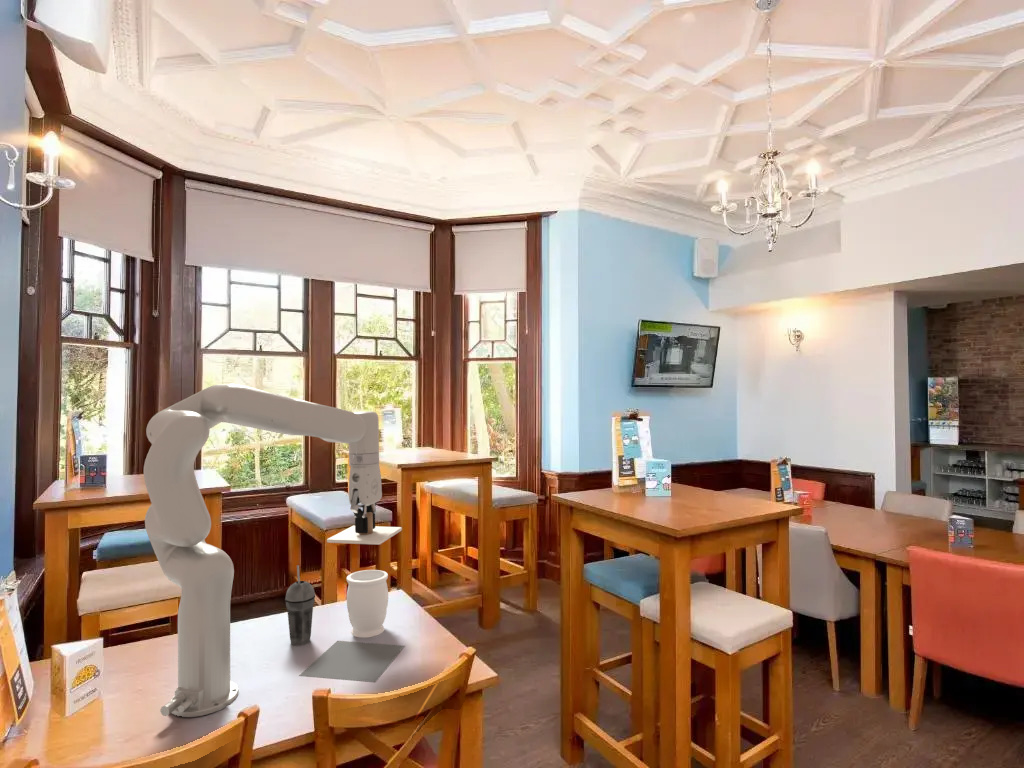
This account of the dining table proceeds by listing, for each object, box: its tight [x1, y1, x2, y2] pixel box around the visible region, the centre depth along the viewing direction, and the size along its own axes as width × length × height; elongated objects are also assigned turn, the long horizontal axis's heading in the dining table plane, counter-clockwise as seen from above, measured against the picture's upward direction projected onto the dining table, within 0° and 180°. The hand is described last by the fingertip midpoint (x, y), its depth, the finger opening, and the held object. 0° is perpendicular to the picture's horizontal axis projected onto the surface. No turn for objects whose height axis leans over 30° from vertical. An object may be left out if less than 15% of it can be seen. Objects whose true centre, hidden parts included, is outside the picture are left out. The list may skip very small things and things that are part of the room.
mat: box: [298, 640, 406, 683], centre depth 135 cm, size 18×18×1 cm
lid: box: [326, 512, 403, 545], centre depth 148 cm, size 14×14×6 cm
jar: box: [346, 569, 389, 638], centre depth 152 cm, size 11×10×15 cm
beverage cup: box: [284, 565, 316, 647], centre depth 145 cm, size 7×7×20 cm
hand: (365, 530), depth 148 cm, fingers closed on lid, 3 cm apart
